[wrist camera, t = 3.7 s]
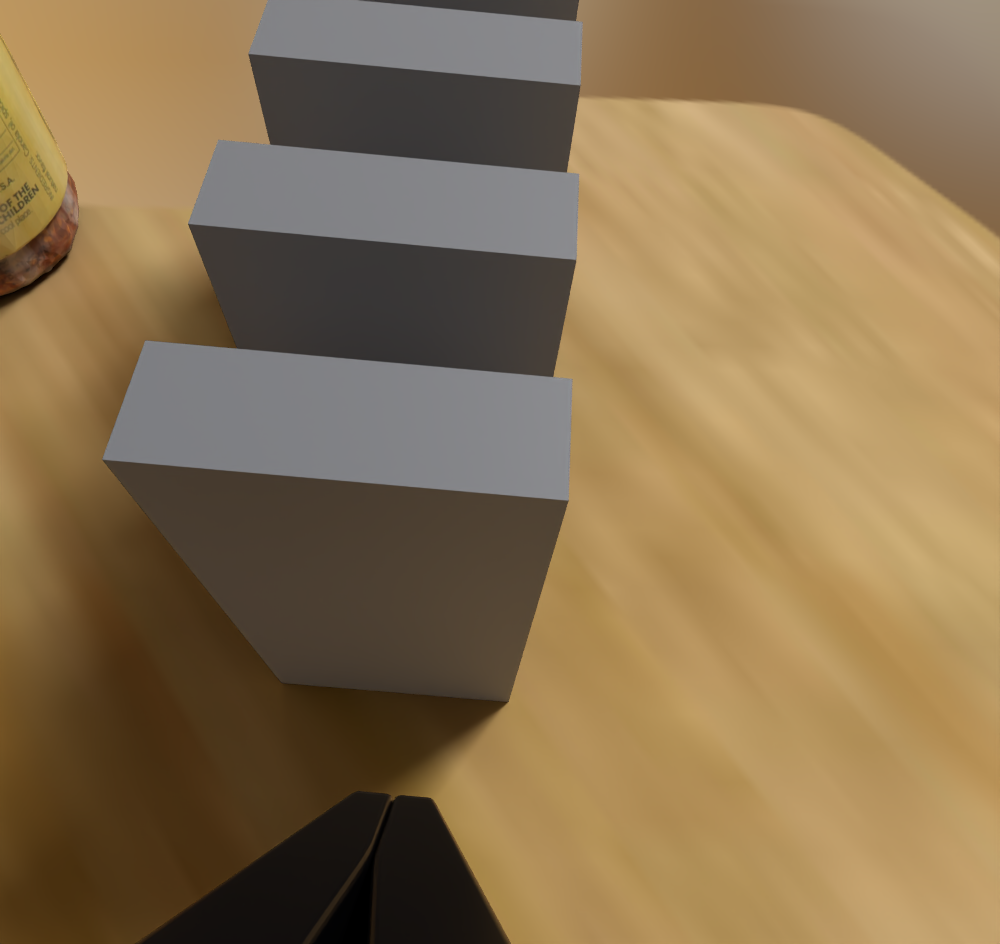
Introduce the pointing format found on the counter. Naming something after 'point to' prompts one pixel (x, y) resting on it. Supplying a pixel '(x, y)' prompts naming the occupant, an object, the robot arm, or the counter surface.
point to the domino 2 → (389, 256)
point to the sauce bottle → (30, 186)
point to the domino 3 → (355, 507)
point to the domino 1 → (418, 82)
